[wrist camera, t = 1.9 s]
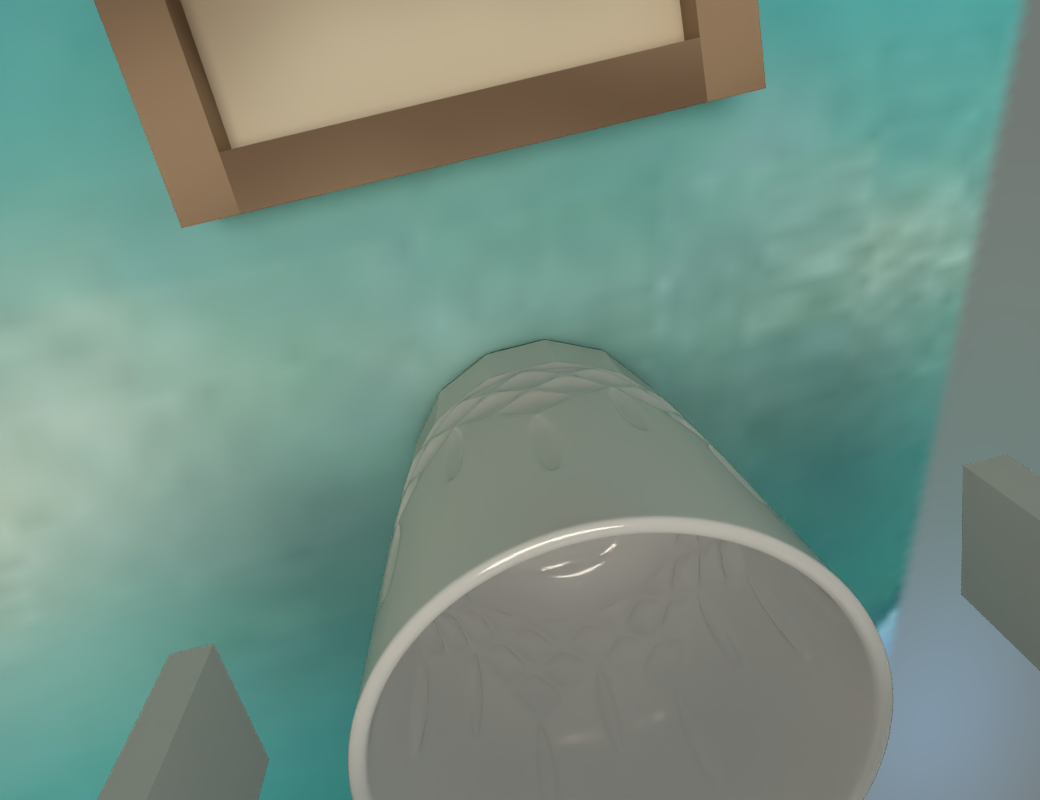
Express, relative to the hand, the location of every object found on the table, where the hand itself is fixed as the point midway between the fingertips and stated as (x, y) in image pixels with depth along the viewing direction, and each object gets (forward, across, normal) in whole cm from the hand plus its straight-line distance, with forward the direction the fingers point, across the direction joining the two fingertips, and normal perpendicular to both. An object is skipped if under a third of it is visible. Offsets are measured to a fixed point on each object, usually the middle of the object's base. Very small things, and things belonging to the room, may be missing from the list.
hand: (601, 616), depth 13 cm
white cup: (+8, 0, 0) cm, 8 cm away
